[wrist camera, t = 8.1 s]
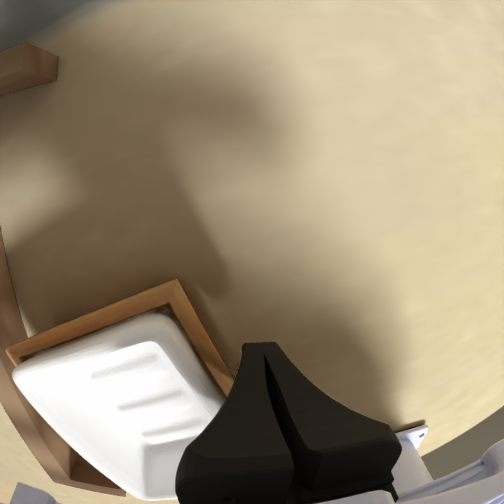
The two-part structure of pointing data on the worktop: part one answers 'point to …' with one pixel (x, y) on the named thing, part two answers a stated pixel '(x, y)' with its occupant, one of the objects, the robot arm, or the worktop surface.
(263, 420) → the robot arm
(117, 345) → the soap dish
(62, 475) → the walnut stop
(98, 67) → the worktop surface
